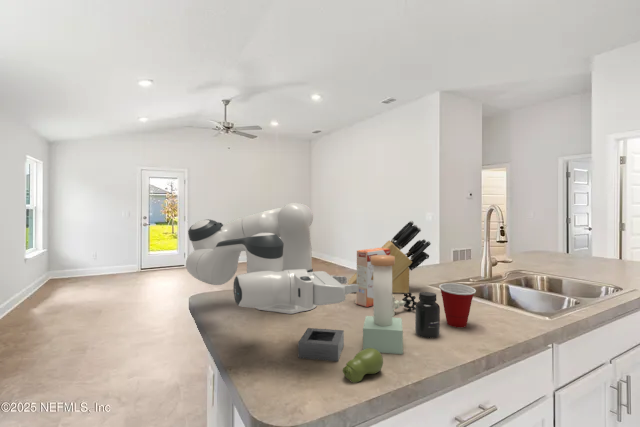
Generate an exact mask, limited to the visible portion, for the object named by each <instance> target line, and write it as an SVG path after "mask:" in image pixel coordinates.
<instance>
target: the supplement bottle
mask: <svg viewBox="0 0 640 427" xmlns="http://www.w3.org/2000/svg"><path fill="white" fill-rule="evenodd" d="M416 302H417V303H416V305H414V307H415V310H414V312H415V316H414V318H415V319H414V320H415V321H414V322H415V325H414V328H415V329H414V330H415V331H414V332H415V334H416V335H417V336H419V337H422V338H426V339H436V338H438V337H439V336H440V334H441V333H440V331H441V330H440V329H441V328H440V326H441V325H440V322H441V321H440V320H441V310H440V309H441V308H440V305H439V304H438V302H437V293H436V292H435V293H434V292H431V291H420V292H418V301H416Z"/></svg>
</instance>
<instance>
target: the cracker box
mask: <svg viewBox="0 0 640 427" xmlns="http://www.w3.org/2000/svg"><path fill="white" fill-rule="evenodd" d="M373 255H390V249H388V248H381V247H375V248H367V249H360V250H359V249H358V250H356V272H357V285H358V286H359V291H358V292H357V293H356V305H359V306H361V307H366V308H369V307H372V306H373V307H374V294H373V265H371V256H373Z"/></svg>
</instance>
